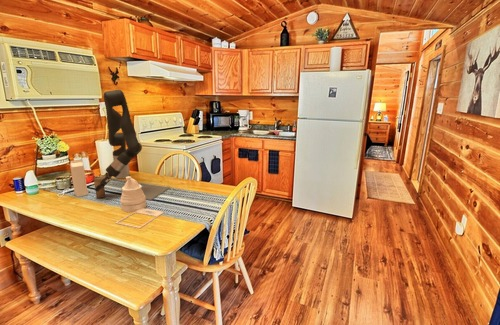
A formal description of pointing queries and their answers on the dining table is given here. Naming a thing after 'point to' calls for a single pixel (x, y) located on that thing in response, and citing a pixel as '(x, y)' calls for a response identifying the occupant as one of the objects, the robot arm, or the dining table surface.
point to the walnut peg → (102, 191)
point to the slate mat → (153, 191)
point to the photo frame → (144, 212)
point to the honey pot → (132, 196)
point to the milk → (78, 178)
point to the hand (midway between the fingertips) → (96, 189)
